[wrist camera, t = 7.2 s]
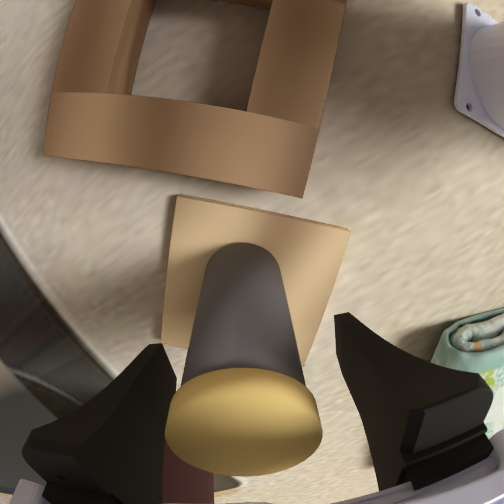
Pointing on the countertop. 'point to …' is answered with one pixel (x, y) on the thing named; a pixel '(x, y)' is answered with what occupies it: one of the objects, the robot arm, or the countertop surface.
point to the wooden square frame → (189, 113)
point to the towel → (478, 357)
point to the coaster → (262, 234)
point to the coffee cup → (185, 481)
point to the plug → (243, 374)
